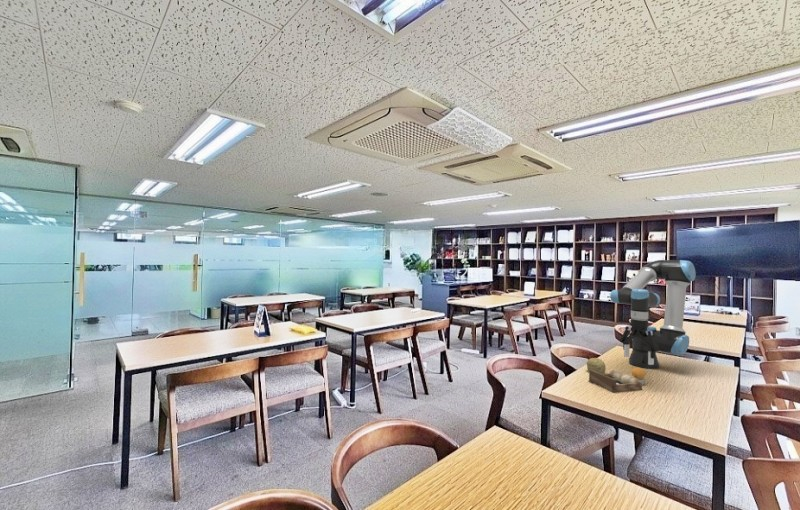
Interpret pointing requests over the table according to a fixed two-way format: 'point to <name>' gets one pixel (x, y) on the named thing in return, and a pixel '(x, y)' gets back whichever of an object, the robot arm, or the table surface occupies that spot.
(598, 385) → the mat
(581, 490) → the table surface
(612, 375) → the brown wooden tray
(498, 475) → the table surface
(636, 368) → the ball
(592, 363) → the decorative item
